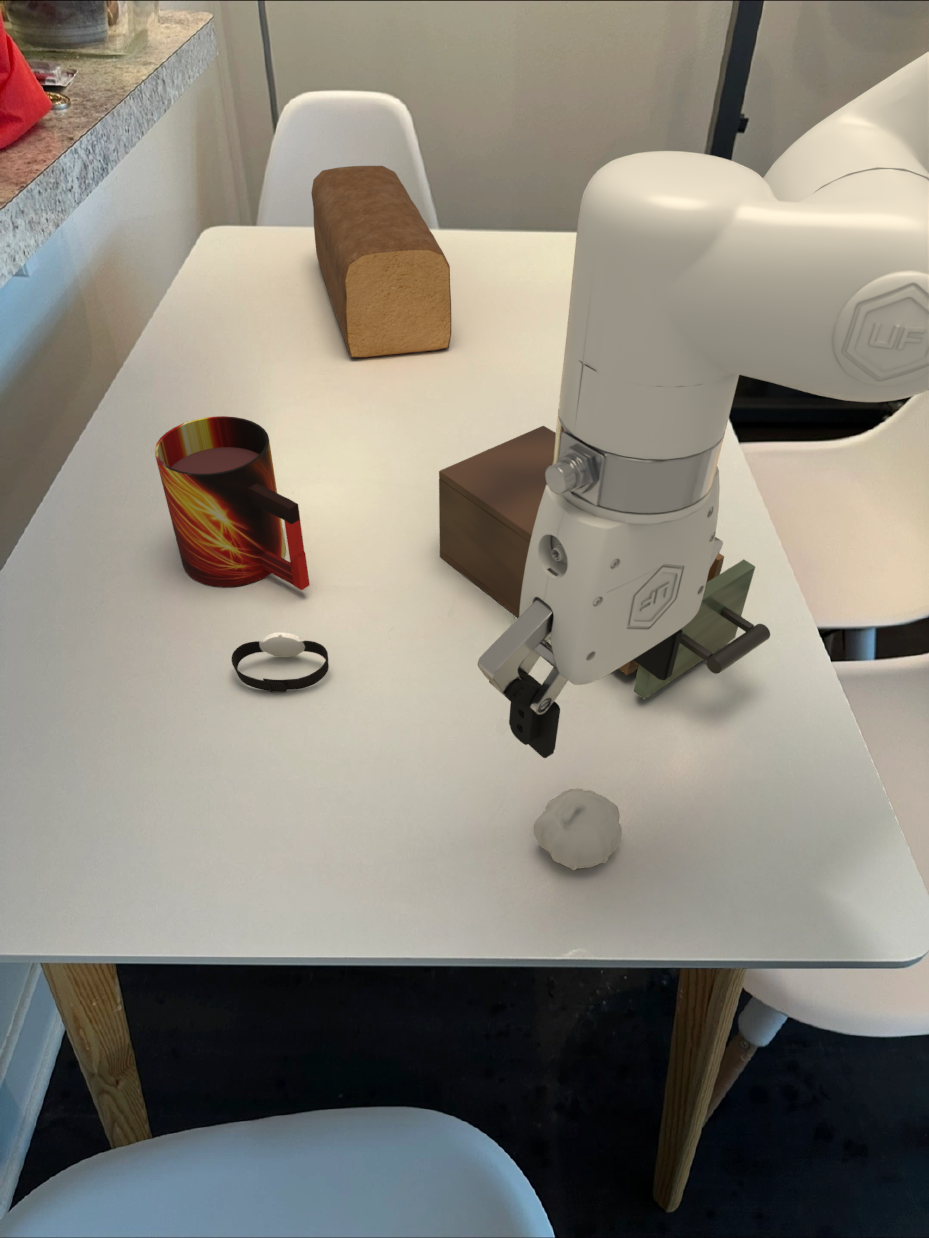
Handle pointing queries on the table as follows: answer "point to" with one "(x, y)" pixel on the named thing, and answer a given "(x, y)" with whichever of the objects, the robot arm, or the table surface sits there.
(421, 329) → the bread
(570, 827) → the garlic
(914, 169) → the robot arm
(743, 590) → the drawer
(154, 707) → the table surface
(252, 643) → the watch
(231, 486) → the mug
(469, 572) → the cabinet
